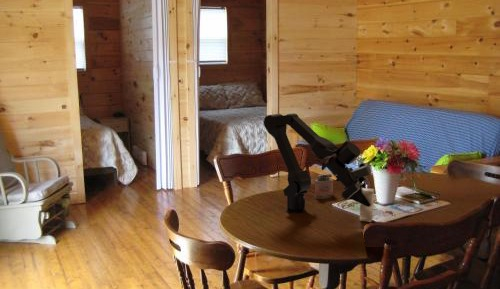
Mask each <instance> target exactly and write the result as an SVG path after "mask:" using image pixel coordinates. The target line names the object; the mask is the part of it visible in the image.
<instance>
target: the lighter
mask: <svg viewBox="0 0 500 289" xmlns="http://www.w3.org/2000/svg"><path fill="white" fill-rule="evenodd" d="M332 175H333V174H332V173H326V174H324V173H322V174H319V175H317V179H315V180H314V183H315V184H314V188H315V189H314V191H315V192H314V199H318V200H319V199H321V200H322V199H323V200H324V199H330V198H331V197H332V196H333V194H334V192H333V189H334V186H333V185H334V179H332Z"/></svg>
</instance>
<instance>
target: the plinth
mask: <svg viewBox="0 0 500 289" xmlns="http://www.w3.org/2000/svg"><path fill="white" fill-rule="evenodd" d="M382 213H383V210H381V209H380V210H378V209H373V216H382Z"/></svg>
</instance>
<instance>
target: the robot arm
mask: <svg viewBox="0 0 500 289" xmlns="http://www.w3.org/2000/svg"><path fill="white" fill-rule="evenodd" d="M287 125H288V126H289V127H290V128H291V129H292V130H293V131H294V132H296V133H297V134H298V135H299V137H300V138H301V139H303V140H304V141H305V142H306V143H307V144H308V145H309V147H310V150H311V152H312V153H313V154H314V156H315V157H316V158H317V159H319V160H324V159H327V160H324V161H322V162H321V171H324V170H326V169H328V170H329V171H330V174H331V175H333V176H334V177H335V181H336V182H337V183H340V184H341V185H342V186H343V190H342V192H341V197H342V198H343V200H344V201H346V200H348V199H349V200H352V201H354V202H356V203H359V204H360V203H361V204H363V205H365V206H367V207H369V206H370V205H371V204H370V203H369V201H368V200H367V198H366V197H365V195H364V194H363V192H362V188H367V181H366V180H367V179H368V177H369V176H370V174H372V171H371V167H370V166H369V165H368V164H366V163H365V162H362V163H359V165H358V167H356V168H354V169H353V168H352V167H348V166H347V165H350V164H351V163H352V162H354V160H356V159H357V158H358V157H359V156H361V155H362V153H361V149H360V148H359V147H358V146H357V145H356V144H354V143H353V142H351V141H350V140H345V141H344V142H343V143H342V145H340V146H337V145H335V144H334V143H333V142H332V141H331V140H330V139H328V138H325V137H323V136H321V135H319V134H318V133H316V132H315V130H313V129H312V128H311V127H310V126H309V125H308V124H307V123H306V122H305V121H304V120H303V119H301V118H300V117H299V115H298V114H297V113H287V114H286V115H283V114H281V113H274V114H273V113H272V114H267V115H266V116H265V117H264V119H263V126H264V128H265V130H266V131H267V133H268V134H269V135H271V137H273V139H274V140H275V143H276V145H277V148H278V151H279V153H280V156H281V158H282V160H283V163H284V165H285V168H286V170H287V183H288V185H287V186H285V188H284V189H283V192H282V193H283V195H284V196H285V197H287V198H286V212H288V213H289V212H292V213H304V210H306V197H305V194H307V193H308V190H309V189H310V188H311V185H312V181H311V180H312V178H311V177H310V174H309V170H308V169H303V168H301V166H300V164H299V161H298V160H297V157H296V154H295V152H294V150H293V147H292V144H291V141H290V140H289V138H288V135H287ZM334 156H335V157H334ZM367 176H368V177H367ZM364 181H365V182H364Z"/></svg>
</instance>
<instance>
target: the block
mask: <svg viewBox="0 0 500 289" xmlns="http://www.w3.org/2000/svg"><path fill="white" fill-rule="evenodd" d="M362 192H363V194H364V195H365V197H366V198H367V200H368V201H369V203H370V204H371V205H370V206H369V207H367V206H365V205H363V204H361V203H359V221H361V222H369V223H371V222H372V221H373V219H374V215H373V210H374V201H375V196H374V194H375V188H368V187H366V188H362Z"/></svg>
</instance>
